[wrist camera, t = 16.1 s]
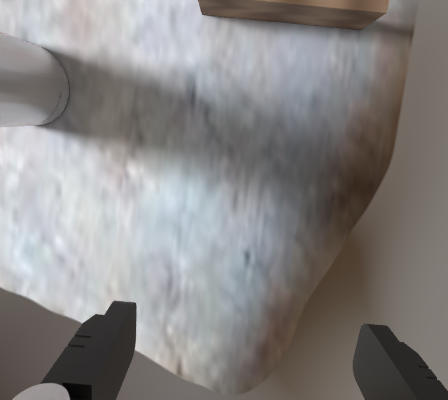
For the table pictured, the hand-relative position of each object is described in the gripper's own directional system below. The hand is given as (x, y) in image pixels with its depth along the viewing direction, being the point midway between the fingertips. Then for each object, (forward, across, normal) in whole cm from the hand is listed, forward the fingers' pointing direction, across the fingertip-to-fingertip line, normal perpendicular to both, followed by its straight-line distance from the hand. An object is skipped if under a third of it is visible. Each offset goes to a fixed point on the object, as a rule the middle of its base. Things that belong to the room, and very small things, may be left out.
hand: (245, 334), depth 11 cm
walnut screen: (+30, -4, -19) cm, 35 cm away
